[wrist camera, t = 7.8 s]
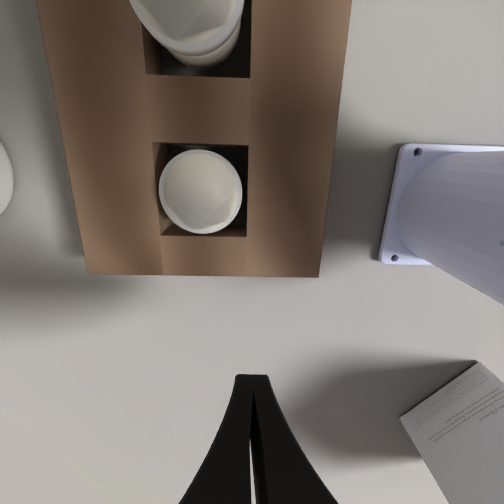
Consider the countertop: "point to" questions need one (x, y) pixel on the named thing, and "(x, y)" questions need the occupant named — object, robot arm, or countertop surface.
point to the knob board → (197, 136)
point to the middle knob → (193, 28)
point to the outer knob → (200, 191)
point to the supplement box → (463, 437)
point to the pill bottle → (5, 179)
